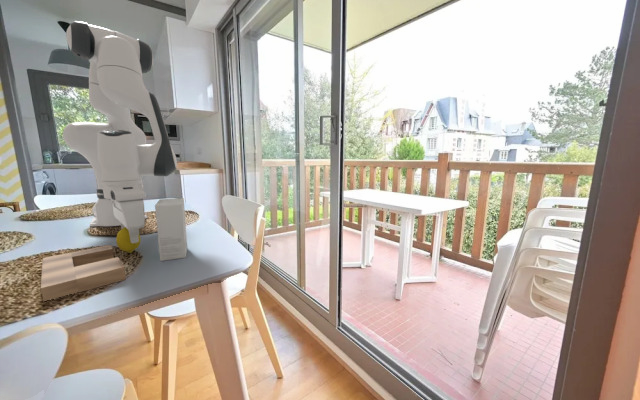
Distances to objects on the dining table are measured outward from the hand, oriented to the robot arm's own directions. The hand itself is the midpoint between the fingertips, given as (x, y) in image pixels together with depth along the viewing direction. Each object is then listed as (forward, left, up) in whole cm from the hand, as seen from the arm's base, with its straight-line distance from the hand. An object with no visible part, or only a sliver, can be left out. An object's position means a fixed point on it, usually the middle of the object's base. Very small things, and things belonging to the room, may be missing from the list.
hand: (130, 238), depth 73 cm
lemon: (0, 0, -5) cm, 5 cm away
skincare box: (+10, +8, -5) cm, 14 cm away
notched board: (+8, -11, -4) cm, 14 cm away
